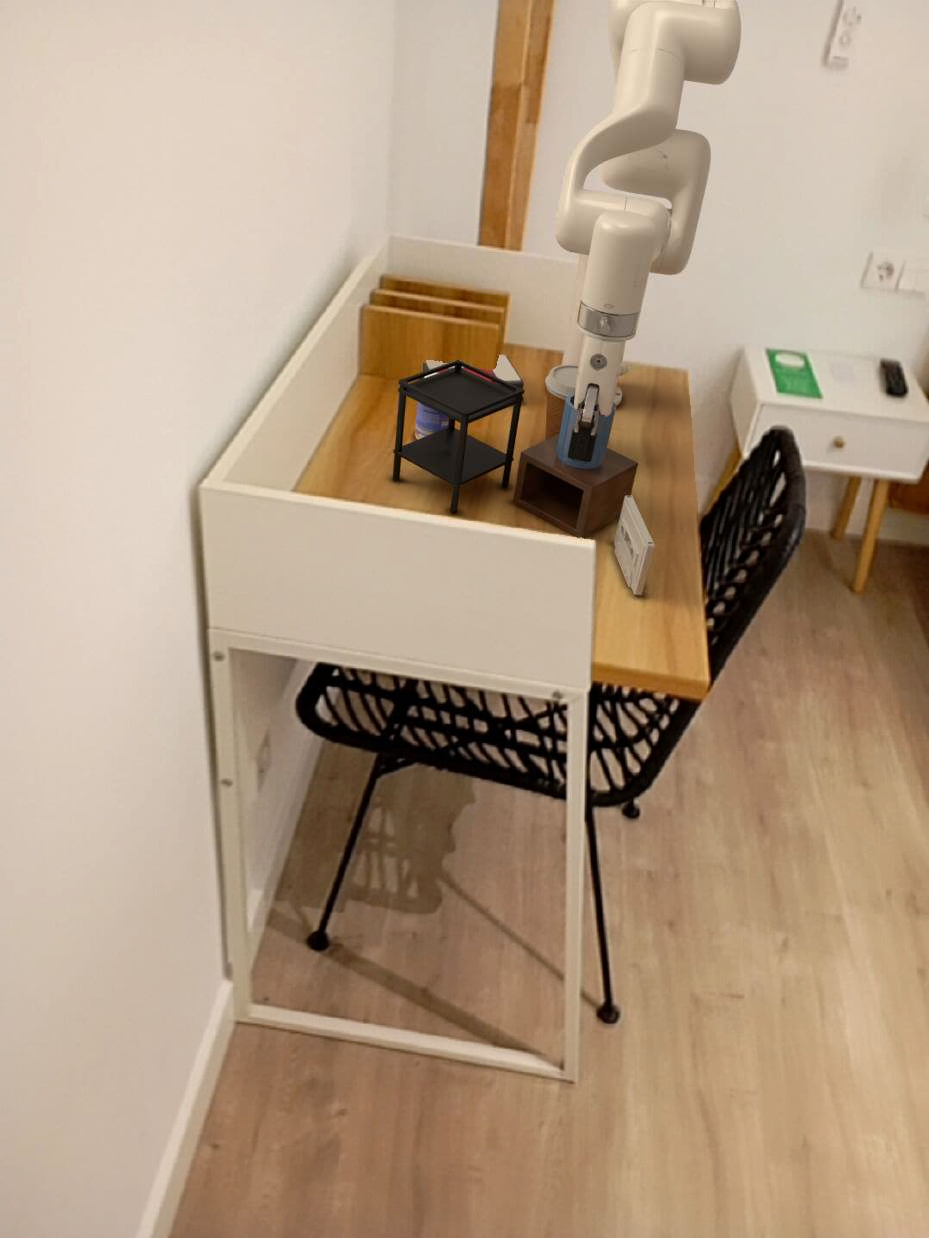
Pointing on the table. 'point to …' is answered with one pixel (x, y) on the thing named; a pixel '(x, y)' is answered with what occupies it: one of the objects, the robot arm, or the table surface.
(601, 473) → the shelf
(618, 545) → the cassette
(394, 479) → the tray
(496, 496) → the table surface
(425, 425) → the pill bottle
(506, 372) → the calculator
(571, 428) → the blue cup
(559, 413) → the disposable coffee cup
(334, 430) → the table surface
